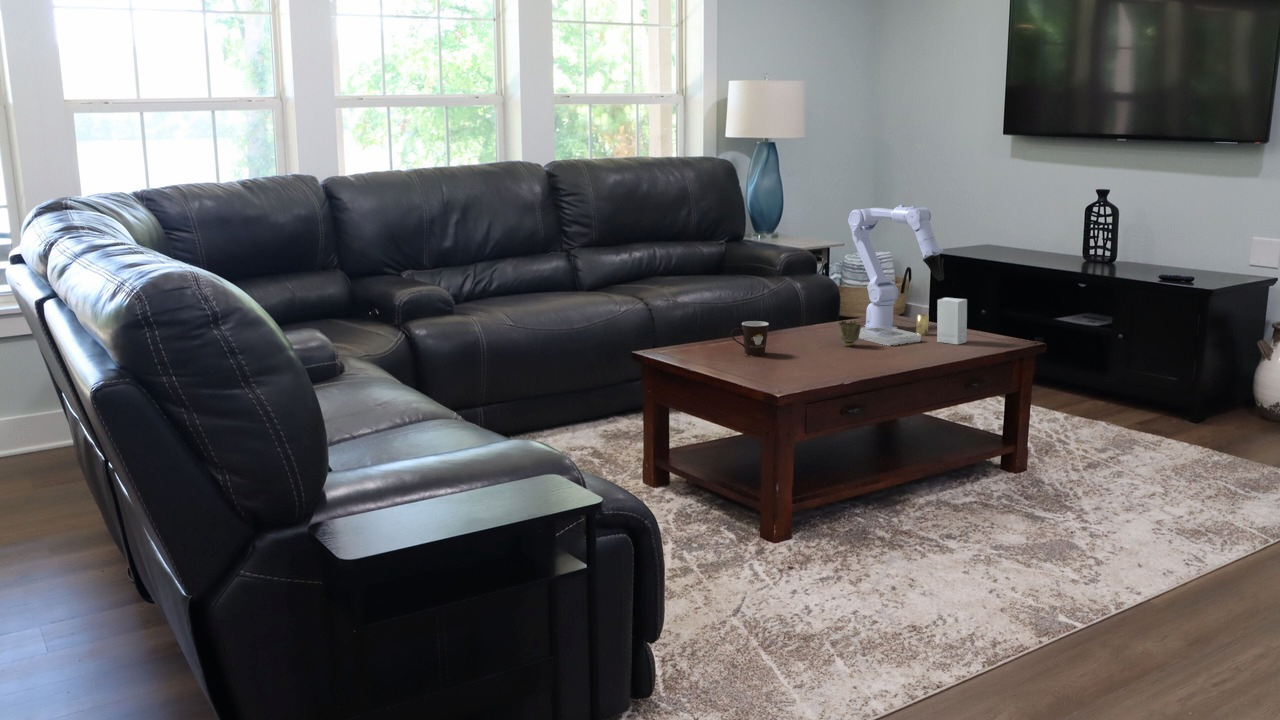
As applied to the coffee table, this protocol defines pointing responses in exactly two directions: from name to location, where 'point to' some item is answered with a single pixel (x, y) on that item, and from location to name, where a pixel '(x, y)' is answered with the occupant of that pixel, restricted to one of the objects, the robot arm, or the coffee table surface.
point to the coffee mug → (753, 337)
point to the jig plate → (888, 335)
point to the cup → (849, 332)
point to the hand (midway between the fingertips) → (939, 278)
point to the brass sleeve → (922, 324)
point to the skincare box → (952, 320)
